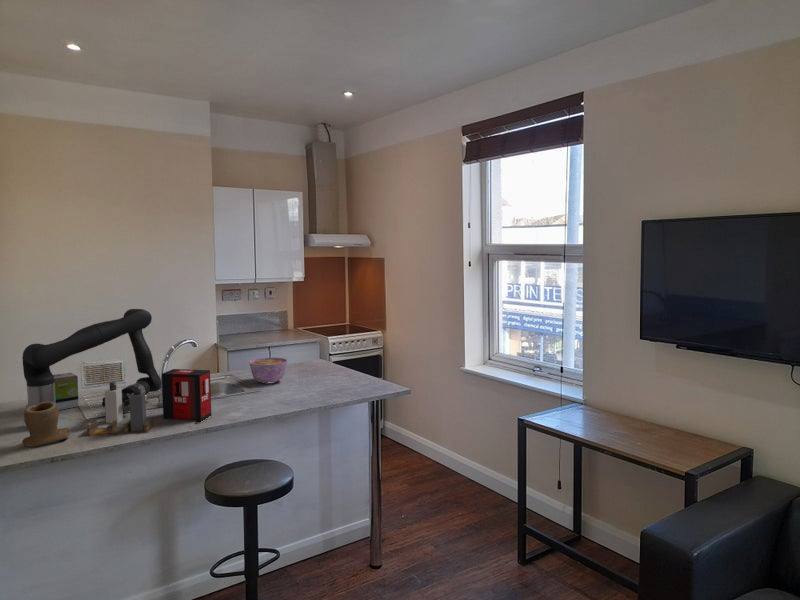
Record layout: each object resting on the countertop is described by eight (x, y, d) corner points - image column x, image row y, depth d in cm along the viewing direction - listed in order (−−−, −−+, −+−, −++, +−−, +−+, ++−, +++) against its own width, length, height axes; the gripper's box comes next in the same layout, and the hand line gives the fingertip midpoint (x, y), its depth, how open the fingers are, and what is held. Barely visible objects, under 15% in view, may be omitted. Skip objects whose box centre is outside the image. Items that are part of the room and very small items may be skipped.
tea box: (40, 414, 231) (38, 380, 230) (34, 409, 238) (32, 377, 237) (79, 407, 242) (77, 374, 241) (72, 402, 249) (70, 371, 248)
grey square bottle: (130, 431, 206) (128, 388, 205) (134, 427, 211) (132, 385, 209) (143, 431, 207) (141, 387, 206) (146, 427, 212) (144, 384, 210)
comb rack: (84, 439, 201) (84, 429, 200) (94, 430, 210) (93, 420, 210) (148, 435, 205) (147, 425, 205) (154, 427, 215) (154, 417, 214)
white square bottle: (106, 425, 217) (104, 384, 215) (111, 421, 221) (109, 381, 220) (117, 425, 217) (115, 384, 215) (123, 421, 221) (121, 381, 220)
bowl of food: (241, 383, 286) (241, 361, 285) (270, 376, 302) (270, 355, 301) (267, 388, 275) (266, 366, 274) (295, 381, 291) (295, 360, 290)
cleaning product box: (211, 416, 229) (209, 370, 227) (200, 422, 220) (199, 375, 218) (175, 414, 231) (173, 369, 229) (163, 421, 222) (161, 373, 221)
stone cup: (25, 452, 188) (23, 410, 186) (20, 443, 196) (17, 403, 195) (75, 442, 198) (73, 402, 197) (68, 434, 207) (65, 395, 205)
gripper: (115, 385, 234) (95, 395, 218) (148, 385, 235) (131, 394, 219) (116, 402, 235) (96, 413, 219) (149, 401, 235) (132, 412, 219)
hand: (114, 404), depth 219 cm, fingers open, 8 cm apart
